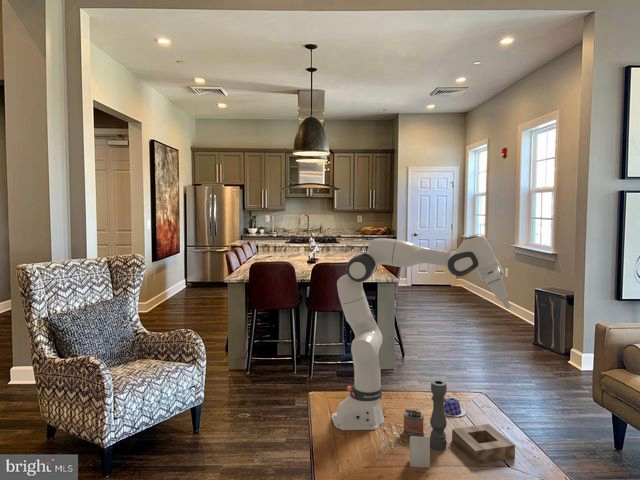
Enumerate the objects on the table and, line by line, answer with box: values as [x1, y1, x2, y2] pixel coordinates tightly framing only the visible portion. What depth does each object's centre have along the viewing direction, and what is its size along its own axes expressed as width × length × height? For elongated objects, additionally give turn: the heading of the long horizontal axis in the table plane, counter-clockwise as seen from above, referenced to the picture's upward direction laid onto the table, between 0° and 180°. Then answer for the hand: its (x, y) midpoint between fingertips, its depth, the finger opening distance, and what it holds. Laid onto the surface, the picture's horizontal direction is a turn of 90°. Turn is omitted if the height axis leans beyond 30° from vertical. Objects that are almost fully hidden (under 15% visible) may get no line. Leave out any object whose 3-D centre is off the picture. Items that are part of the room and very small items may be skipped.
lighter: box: [402, 408, 425, 437], centre depth 178 cm, size 8×3×10 cm, turn 71°
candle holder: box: [429, 379, 448, 452], centre depth 168 cm, size 6×6×25 cm
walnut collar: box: [451, 423, 516, 465], centre depth 166 cm, size 16×16×5 cm
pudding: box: [444, 397, 467, 417], centre depth 197 cm, size 12×12×5 cm
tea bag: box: [409, 435, 431, 469], centre depth 157 cm, size 4×7×10 cm, turn 81°
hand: (507, 305), depth 171 cm, fingers open, 8 cm apart
